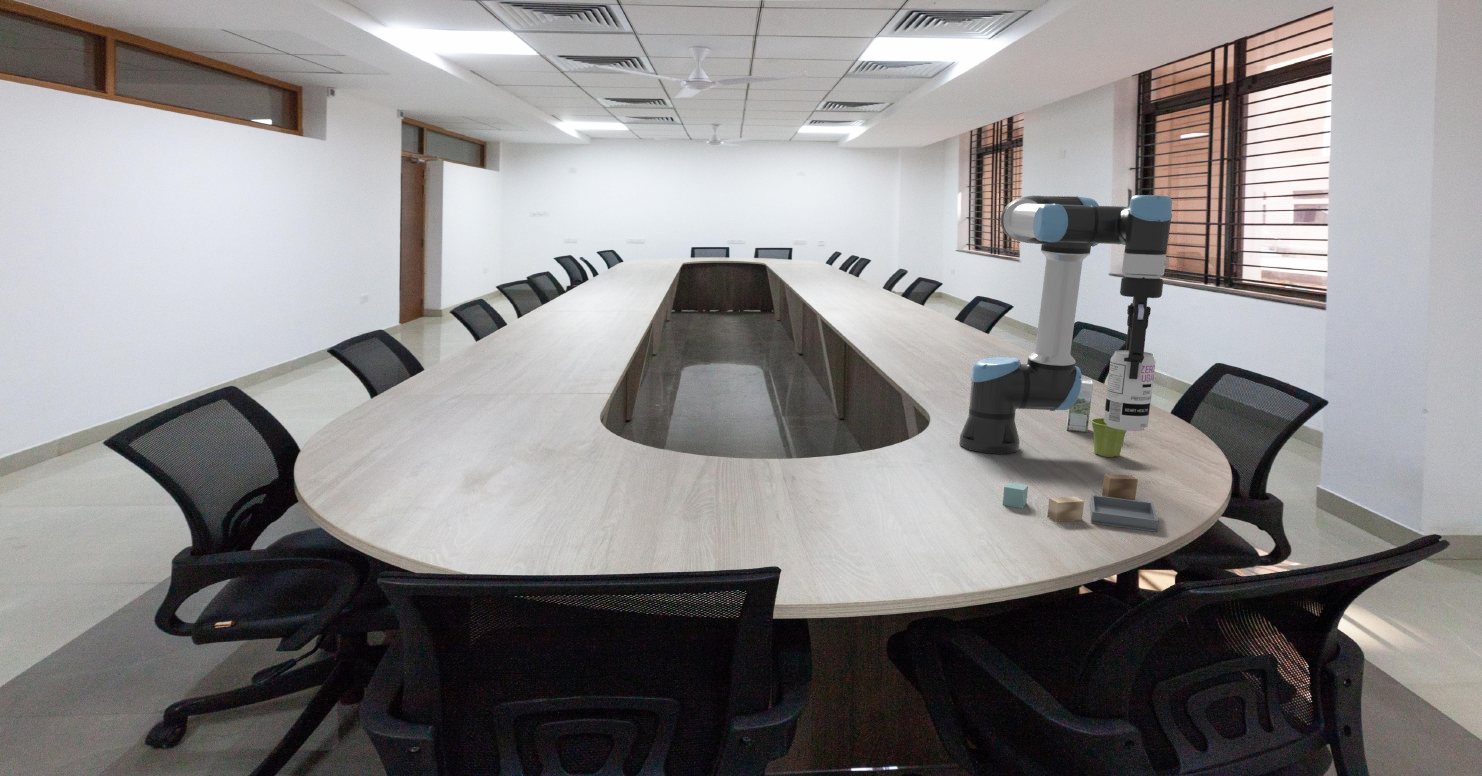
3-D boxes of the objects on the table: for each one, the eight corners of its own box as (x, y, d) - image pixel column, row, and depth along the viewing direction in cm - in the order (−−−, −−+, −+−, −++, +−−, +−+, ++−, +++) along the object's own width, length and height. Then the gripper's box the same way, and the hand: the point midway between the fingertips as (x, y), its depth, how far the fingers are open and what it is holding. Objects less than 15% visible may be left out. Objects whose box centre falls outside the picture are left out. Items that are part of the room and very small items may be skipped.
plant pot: (1086, 456, 230) (1090, 423, 229) (1087, 448, 239) (1091, 416, 237) (1126, 461, 227) (1130, 427, 225) (1125, 452, 235) (1129, 420, 234)
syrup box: (1087, 428, 261) (1092, 379, 258) (1087, 433, 255) (1093, 382, 253) (1066, 426, 263) (1071, 377, 260) (1066, 430, 257) (1071, 380, 254)
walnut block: (1107, 500, 195) (1110, 478, 194) (1101, 496, 198) (1104, 474, 197) (1135, 501, 195) (1137, 479, 194) (1129, 497, 198) (1131, 475, 197)
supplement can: (1108, 420, 186) (1116, 348, 183) (1151, 426, 182) (1160, 353, 179) (1098, 427, 180) (1106, 352, 177) (1142, 433, 175) (1151, 357, 172)
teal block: (1002, 505, 189) (1004, 486, 189) (1007, 500, 193) (1008, 482, 192) (1021, 508, 188) (1023, 490, 187) (1026, 503, 191) (1028, 485, 190)
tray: (1091, 522, 180) (1092, 511, 179) (1089, 505, 191) (1090, 494, 190) (1156, 531, 176) (1158, 520, 175) (1151, 513, 187) (1152, 502, 187)
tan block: (1056, 521, 180) (1058, 502, 179) (1047, 516, 183) (1049, 498, 182) (1082, 520, 182) (1084, 501, 181) (1072, 515, 185) (1074, 496, 184)
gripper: (1168, 280, 164) (1154, 402, 168) (1159, 275, 184) (1146, 384, 188) (1124, 278, 167) (1110, 398, 171) (1119, 273, 186) (1107, 381, 190)
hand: (1129, 391), depth 179 cm, fingers closed on supplement can, 8 cm apart
